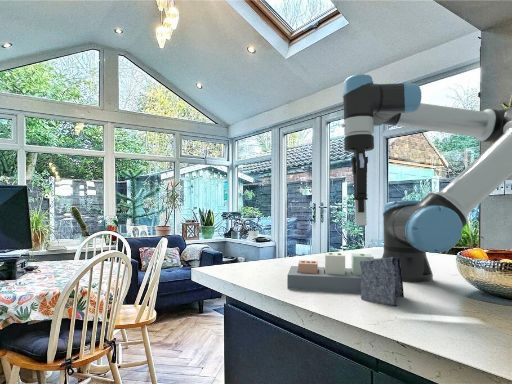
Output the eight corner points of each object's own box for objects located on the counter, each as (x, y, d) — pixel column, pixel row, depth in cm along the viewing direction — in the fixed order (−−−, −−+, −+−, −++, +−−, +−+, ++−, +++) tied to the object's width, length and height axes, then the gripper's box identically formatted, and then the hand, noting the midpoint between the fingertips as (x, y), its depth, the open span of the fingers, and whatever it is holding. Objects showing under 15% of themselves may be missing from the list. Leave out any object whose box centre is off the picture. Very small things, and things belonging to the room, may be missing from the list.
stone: (413, 311, 79) (404, 308, 71) (370, 312, 84) (356, 309, 76) (405, 259, 84) (396, 251, 76) (365, 263, 89) (351, 255, 81)
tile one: (370, 272, 92) (370, 253, 93) (373, 276, 88) (373, 256, 88) (351, 272, 93) (351, 252, 94) (353, 276, 88) (353, 255, 89)
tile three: (317, 279, 95) (317, 260, 95) (317, 283, 90) (317, 263, 90) (299, 278, 96) (299, 259, 96) (298, 282, 91) (298, 262, 91)
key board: (378, 285, 95) (378, 269, 95) (386, 298, 84) (386, 279, 84) (291, 281, 100) (291, 266, 100) (287, 292, 88) (287, 274, 88)
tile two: (343, 271, 94) (343, 252, 94) (345, 275, 89) (345, 255, 89) (325, 270, 95) (325, 251, 95) (325, 274, 90) (325, 254, 90)
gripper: (342, 140, 99) (344, 223, 98) (345, 131, 86) (347, 227, 85) (370, 139, 97) (372, 223, 97) (377, 130, 84) (379, 227, 84)
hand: (360, 224), depth 91 cm, fingers closed
